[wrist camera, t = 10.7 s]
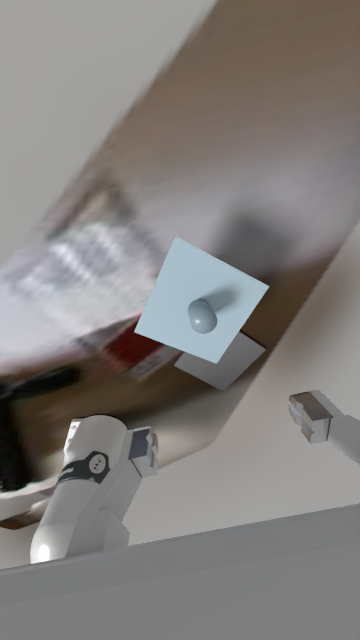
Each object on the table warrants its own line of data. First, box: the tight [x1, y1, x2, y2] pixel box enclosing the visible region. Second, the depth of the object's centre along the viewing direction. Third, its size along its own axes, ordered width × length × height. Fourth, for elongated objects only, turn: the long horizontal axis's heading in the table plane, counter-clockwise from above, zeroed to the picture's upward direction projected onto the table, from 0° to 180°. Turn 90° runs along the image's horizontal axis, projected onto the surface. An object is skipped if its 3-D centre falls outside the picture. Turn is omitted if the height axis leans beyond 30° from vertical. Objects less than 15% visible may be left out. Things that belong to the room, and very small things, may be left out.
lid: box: [135, 236, 269, 364], centre depth 23 cm, size 14×14×5 cm
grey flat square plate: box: [174, 331, 266, 391], centre depth 43 cm, size 16×16×1 cm
